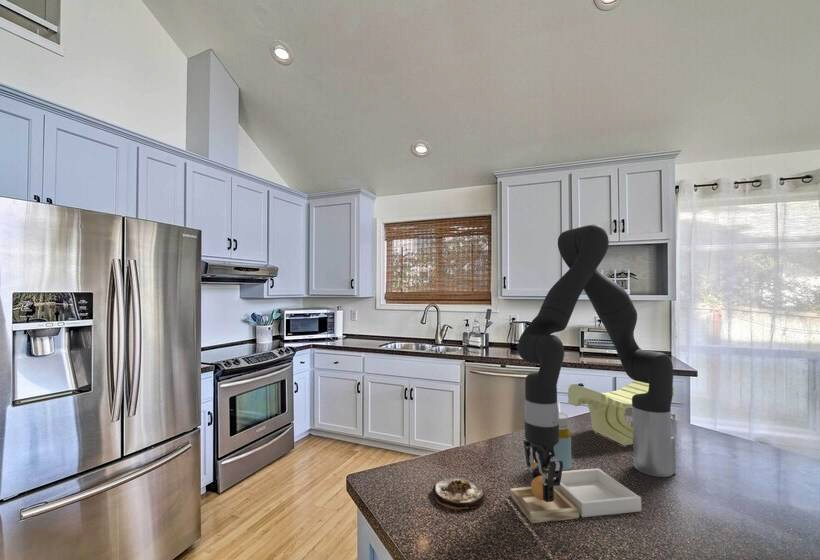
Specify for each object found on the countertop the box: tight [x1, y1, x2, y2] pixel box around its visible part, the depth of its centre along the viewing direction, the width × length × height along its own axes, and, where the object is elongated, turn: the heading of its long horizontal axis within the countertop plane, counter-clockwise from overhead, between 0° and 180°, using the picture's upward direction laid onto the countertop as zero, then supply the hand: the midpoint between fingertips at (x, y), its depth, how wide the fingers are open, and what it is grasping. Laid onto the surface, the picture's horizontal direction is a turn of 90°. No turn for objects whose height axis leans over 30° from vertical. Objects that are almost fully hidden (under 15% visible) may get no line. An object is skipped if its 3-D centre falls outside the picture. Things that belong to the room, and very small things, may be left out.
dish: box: [546, 468, 642, 518], centre depth 90 cm, size 15×15×4 cm
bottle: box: [546, 412, 572, 471], centre depth 106 cm, size 7×7×15 cm
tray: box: [509, 486, 580, 524], centre depth 86 cm, size 11×11×2 cm
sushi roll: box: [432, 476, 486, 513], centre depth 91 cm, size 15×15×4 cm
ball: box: [530, 476, 544, 501], centre depth 86 cm, size 5×5×5 cm
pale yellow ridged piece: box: [567, 380, 675, 445], centre depth 131 cm, size 30×16×18 cm, turn 105°
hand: (542, 494), depth 86 cm, fingers closed on ball, 4 cm apart
